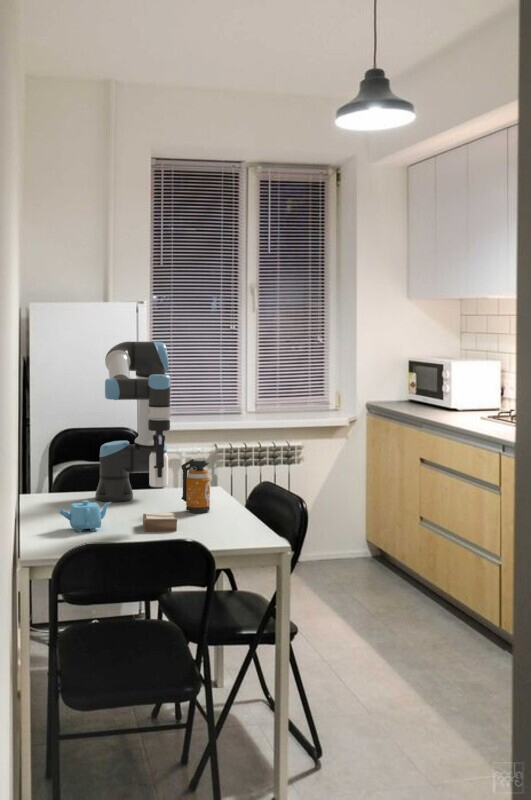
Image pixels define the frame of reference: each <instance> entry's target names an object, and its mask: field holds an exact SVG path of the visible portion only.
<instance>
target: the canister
mask: <svg viewBox="0 0 531 800" xmlns="http://www.w3.org/2000/svg"><path fill="white" fill-rule="evenodd" d="M209 464H210V463H209V462H208V461H207V460H197V459H193V458H192V459H190V460H188V461H186V462H185V463H183V464H181V465H180V466H181V469H182V496H181V498H180V499H181V500H182V501H183V502H186V503H185V505H186V508H185V510H186V511H187V512H190V513H193V514H203V513H207V512H208V511H210V510H211V507H210V505H211V504H210V502H211V495H210V494H211V478H210V475H209V470H208V469H205V468H206V466H208V465H209ZM188 465H189V466H188ZM187 466H188V467H187Z"/></svg>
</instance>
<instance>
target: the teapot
mask: <svg viewBox="0 0 531 800" xmlns="http://www.w3.org/2000/svg"><path fill="white" fill-rule="evenodd" d="M112 503H113V502H105V503H104V505H103V507H102V510H101V506H100V505H99V504H98V502H90V501H89V500H82V501H81V502H78V503H76V502H75V503H71V504H70V511H69V512H67V511H66V510H65V509H63V508H62V509H60V511H59V512H58V513H59V514H60V515H62V516H63V517H64V518H65V519H67V520H68V521H69V525H70V528H71V529H73V530H76V531H75V532H76V533H82V532H83V530H87V529H90V532H97V531H98V530H97V529H100V528H101V527H102V520H103V519H104V518H105V516H106V512H107V509H108V506H109V505H110V504H112Z"/></svg>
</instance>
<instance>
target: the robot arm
mask: <svg viewBox="0 0 531 800" xmlns="http://www.w3.org/2000/svg"><path fill="white" fill-rule="evenodd" d="M168 355H169V354H168V350H167V345H166V344H165V343H164V342H161V341H124V342H123V341H122V342H120V343H118V344H116V345H114V346H112V347H111V348H110V349H109V351H107V353H106V356H105V360H104V362H105V366H106V368H107V370H108V377H109V378H106V379H105V380H104V397H105V399H107V400H111V401H112V400H113V401H129V400H130V401H131V400H133V401H135V400H137V401H138V434H137V435H138V436H137V437H136V438H135V439H134V444H132V443H131V444H130V441H128V440H113V441H110V442H109V441H108V442H106V443H104V444H101V446H100V449H99V456H98V457H99V481H98V484H97V487H96V490H95V494H94V496H95V500H96V501H99V502H105V503H108V502H112V503H118V502H121V503H122V502H127V501H131V500H133V499H134V491H133V489H132V488H133V487H132V485H131V483H130V474H137V473H138V474H141V473H142V474H144V473H145V474H149V457H150V454H151V451H156V466H154V468H155V487H154V488H164V487H163V467H164V451H166V452H167V451H168V448H167V447H168V446H167V444H165V441H166V436H165V434H164V432H168V431H170V429H171V420H170V418H171V385H172V384H171V377H170V374H166V373H167V372H169V371H170V368H169V367H170V364H169V356H168ZM130 372H135V376H136V378H131V374H130ZM167 453H168V452H167Z"/></svg>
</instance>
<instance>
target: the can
mask: <svg viewBox="0 0 531 800" xmlns="http://www.w3.org/2000/svg"><path fill="white" fill-rule="evenodd" d="M167 453H168V452H166V451H164V467H163V487H162V488H165V487H168V485H169V484H168V483H169V456H168V454H167ZM154 466H156V451H151V454H150V457H149V473H148V474H149V475H148V478H149V479H148V481H149V484H148V486H149V487H151V488H156V487H155V468H154Z"/></svg>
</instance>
